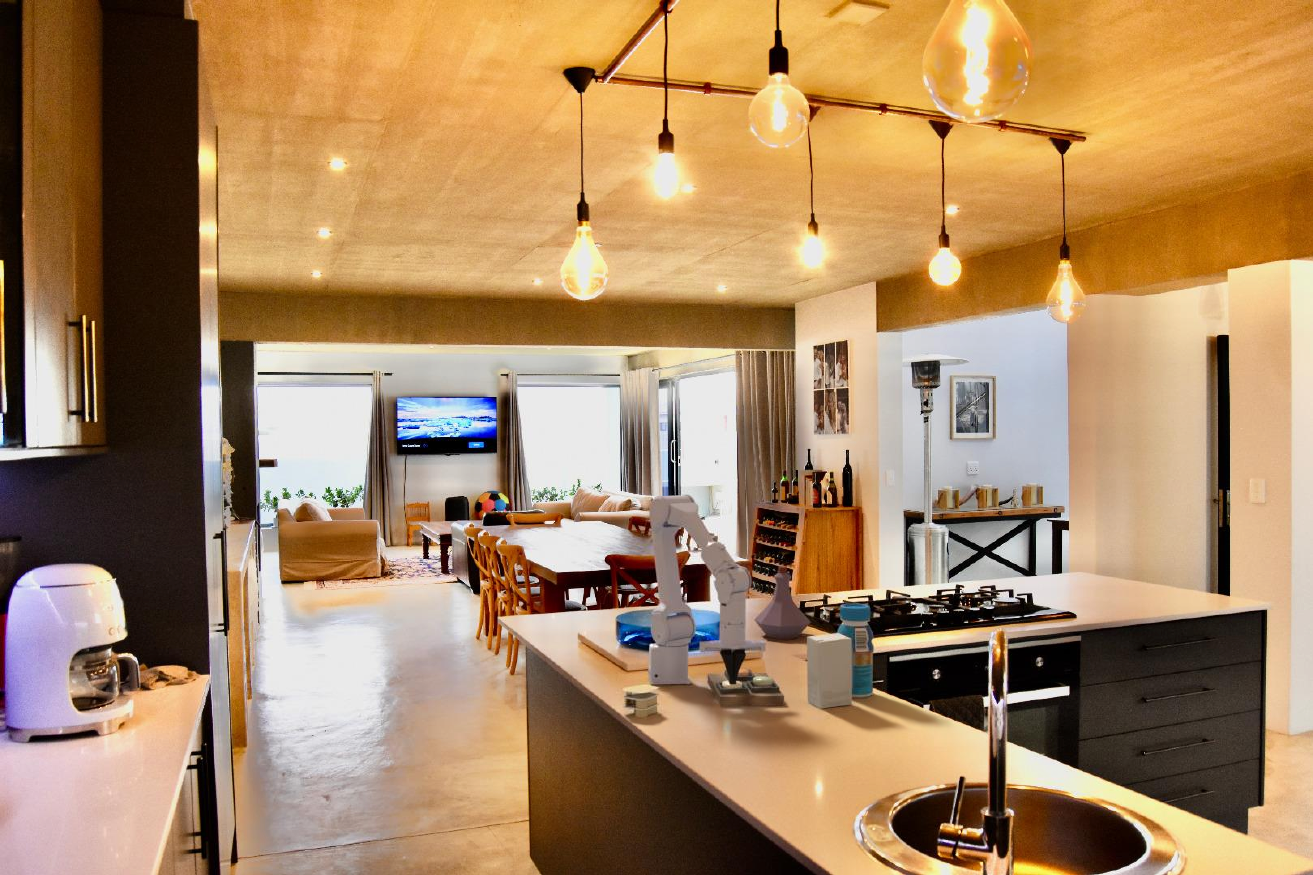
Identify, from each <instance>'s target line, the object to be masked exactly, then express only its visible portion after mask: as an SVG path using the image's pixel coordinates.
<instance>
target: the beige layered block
mask: <svg viewBox="0 0 1313 875" xmlns="http://www.w3.org/2000/svg"><path fill="white" fill-rule="evenodd" d="M659 688H660V687H659V686H655V685H652V684H641V685H633V686H627V687H623V688H622V690H623V691H624V692H625V693H624V694H622V698H623V699H624V703H622V707H623V709H629V710H633V713H635V717H637V718H647V717H648V716H649V715H651V714H655V713H658V706H659V705H660V702H658V696H660V693H658V692H655V690H657V689H659Z"/></svg>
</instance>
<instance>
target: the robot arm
mask: <svg viewBox="0 0 1313 875" xmlns="http://www.w3.org/2000/svg"><path fill="white" fill-rule="evenodd" d="M648 514H649V521H650V522H649V523H650V528H651V529H650V530H651V540H652V548H653V557H654V565H655V574H656V582H657V590H658V592H657V593H658V597H659V598H658V600H659V603H658V604H657V606H656V607H655V608H654V610H652V611H651V624H650V633H651V636H652V639H653V641H655V643H649V646H648V647H649V648H648V650H649V651H648V667H647V670H648V671H647V672H648V673H647V674H648V679H649V681H650V685H652V686H655V685H691V684H692V680H691V678H690V676H689V643H691V642H692V641H691V640H692V639H693V637H694V636H695V635H696V629H697V628H696V627H697V626H696V621H695V618H694V616H693V614H692V607H690V606H689V605H688V604H687V603H686V602H684V601H683V596H682V588H681V580H680V571H679V570H680V569H679V563H678V555H677V554H678V553H677V548H676V547H677V546H676V538H675V536H676V534H677V533H678V531H679V530H680V529H681V528H683V529H685V531H686V532H687V533H688V535H689V536H690V537H691V538H692V540H693V541H694V542H695V543H696V545H697V547H699V548H700V549H701V552H700V557H701V559H702V561H703V562H704V564H705V565H706V567H707V569H708V570H709V571H710V573H711V574H712V576H713V577H714V578H715V579H714V580H713V585H714V589H715V591H716V593H717V600H718V602H719V640H716V639H715V640H708V641H707V640H706V641H699V651H700V653H706V652H719V653H720V656H721V658H722V661H723V664H724V666H725V670H727V675H728V681H729V684H736V681H737V677H738V673H739V670H740V669H741V667H742V665H743V663H744V661H745V658H746V656H747V653H746V652H747V651H748V652H750V651H751V652H753V651H760V652H766V642H765V640H753V639H752V640H748V639H746V623H747V622H746V620H747V618H746V614H747V613H746V610H747V606H746V605H747V604H746V603H747V601H746V600H747V599H746V598H747V592H748V591H749V590H750V589H751V586H752V576H751V574H750V571H749V569H748V568H747V567H745V566H741V565H740V564H739V563H737V562H736V561H735V560H734V559H733V557H732V556H731V554H730V553H729V551H728V550H727V547H726V546H725V544H724V543H722V542H721V541H720V542H719V541H715V540H714V538H713V537H712V535H711V534H710V532H709V530H708V528H707V526H706V525H705V523H704V521H703V520H702V518H701V516H700V515H699V505H698V504H697V503H696V501H695V499H694V497H693V496H692V495H690V494H683V495H657V496H655V497H654V498H653V500H652V501H651V502H650V504H649V506H648Z"/></svg>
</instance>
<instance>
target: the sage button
mask: <svg viewBox="0 0 1313 875" xmlns="http://www.w3.org/2000/svg"><path fill="white" fill-rule="evenodd" d="M773 680H774V679H773V677H770V676H769V677H764V676H759V677H754V678H753V685H755V686H759V687H769V686H772V685H773Z"/></svg>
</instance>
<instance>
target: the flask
mask: <svg viewBox="0 0 1313 875" xmlns="http://www.w3.org/2000/svg"><path fill="white" fill-rule="evenodd" d="M777 568H778V573H776V574H774V576H773V577H774V579H775V582H776V583H775V589H774V592H773V596H772V600H771V601H770V602H769V603H768V604H767V605H766V607H765V608H764V609H763V610H762V611H761V612H760V613H759V614H758V615H757V616H756V617H755V618H754V620H753V621H755V623H756V624H757V626H758V627H759V628H760V629H761V630H762V632H763V633H764V634H765V635H766V636H767V637H768V638H770V639H771V638H772V639H778V640H779V639H780V640H784V639H785V640H787V639H788V640H789V639H795V638H798V637H799V636H800V635H801V634H802V633H803V632H804V631H805V630H806V628H807V627H808V626H809V624H811V622H812V621H810V620H809V617H807V616H806V615H805V614H804V613H803V611H801V609H800V608H799V607H798V606H797V604H796V603H795V602H794V599H793V596H792V592H791V589H790V580H791V578H792V576H791V575H790V573H787V572H788V567H787V566H784V565H783V566H782V565H780V566H779V565H778V566H777Z"/></svg>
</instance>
